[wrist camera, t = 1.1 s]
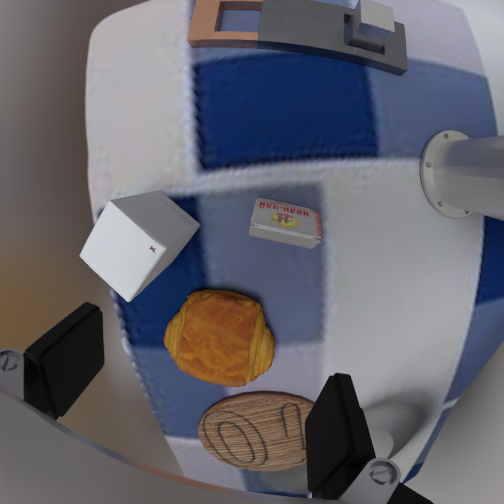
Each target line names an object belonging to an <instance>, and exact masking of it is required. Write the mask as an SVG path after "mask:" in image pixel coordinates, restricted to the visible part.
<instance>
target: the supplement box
mask: <svg viewBox="0 0 504 504" xmlns="http://www.w3.org/2000/svg"><path fill="white" fill-rule="evenodd" d="M199 227H200V224H199V223H198V222H197V221H195V220H194V219H193V218H192V217H191V216H190V215H188V214H187V213H186V212H185V211H184V210H183V209H181V208H180V207H179V206H178V205H177V204H176V203H174V202H173V201H172V200H171V199H170V198H168V197H167V196H166V195H165V194H164V193H163V192H161V191H155V192H149V193H144V194H139V195H134V196H129V197H124V198H119V199H115V200H110V201H109V202H108V204H107V205H106V207H105V209H104V210H103V212H102V214H101V216H100V217H99V219H98V221H97V223H96V225H95V226H94V228H93V230H92V232H91V234H90V236H89V238H88V240H87V242H86V244H85V246H84V248H83V250H82V252H81V254H80V257H81V258H82V259H83V260H84V261H85V262H86V263H87V264H88V265H89V266H90V267H91V268H92V269H93V270H94V271H95V272H96V273H97V274H98V275H99V276H100V277H101V278H103V279H104V280H105V281H106V282H107V283H108V284H109V285H110V286H111V287H112V288H113V289H114V290H115V291H116V292H117V293H118V294H120V295H121V296H122V297H123V298H124V299H125V300H126V301H127V302H130V301H131V300H132V299H133V298H134V297H136V296H137V295H138V294H139V293H140V292H141V291H142V290H143V289H144V288H145V287H146V286H147V285H148V284H149V283H150V282H152V281H153V280H154V279H155V278H156V277H157V276H158V275H159V274H160V273H161V272H162V271H163V270H164V269H166V268H167V267H168V266H169V265H170V264H171V263H172V262H173V260H174V259H175V258H176V257H177V255H178V254H179V253H180V252H181V250H182V249H183V248H184V246H185V245H186V244H187V243H188V241H189V240H190V239H191V237H192V236H193V235H194V233H195V232H196V231H197V229H198V228H199Z"/></svg>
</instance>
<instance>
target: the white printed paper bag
mask: <svg viewBox="0 0 504 504" xmlns="http://www.w3.org/2000/svg"><path fill="white" fill-rule="evenodd" d="M250 223H251V226H249V236H253V237H258V238H263V239H267V240H272V241H277V242H281V243H286V244H291V245H295V246H300V247H304V248H309V249H312V248H313V247H315V246H316V245H317V244H318V243H320V242H321V241H319V240H317V239H316V238H323V236H322V230H321V221H320V215H319V214H318V213H317V212H315V211H314V210H313V209H310V208H306V207H302V206H297V205H293V204H288V203H284V202H279V201H275V200H270V199H266V198H261V197H258V198H257V200H256V202H255V206H254V210H253V214H252V217H251V221H250Z"/></svg>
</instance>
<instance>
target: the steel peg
mask: <svg viewBox="0 0 504 504" xmlns="http://www.w3.org/2000/svg"><path fill="white" fill-rule="evenodd" d="M394 33H395V28H394V17H393V8H391V7H388V6H385V5H382V4H379V3H376V2H372V1H369V0H359V1H358V3H357V5H356V7H355V9H354V11H353V13H352V15H351V17H350V19H349V20H348V22H347V24H346V26H345V45H348V46H352V47H356V48H360V49H364V50H368V51H371V52H375V53H376V52H377V51H378V50H379V49H380V48H381V47H382V46H383V45H384V44H385V42H386V41H387V40H388V39H389V38H390V37H391V36H392V35H393V34H394Z"/></svg>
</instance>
